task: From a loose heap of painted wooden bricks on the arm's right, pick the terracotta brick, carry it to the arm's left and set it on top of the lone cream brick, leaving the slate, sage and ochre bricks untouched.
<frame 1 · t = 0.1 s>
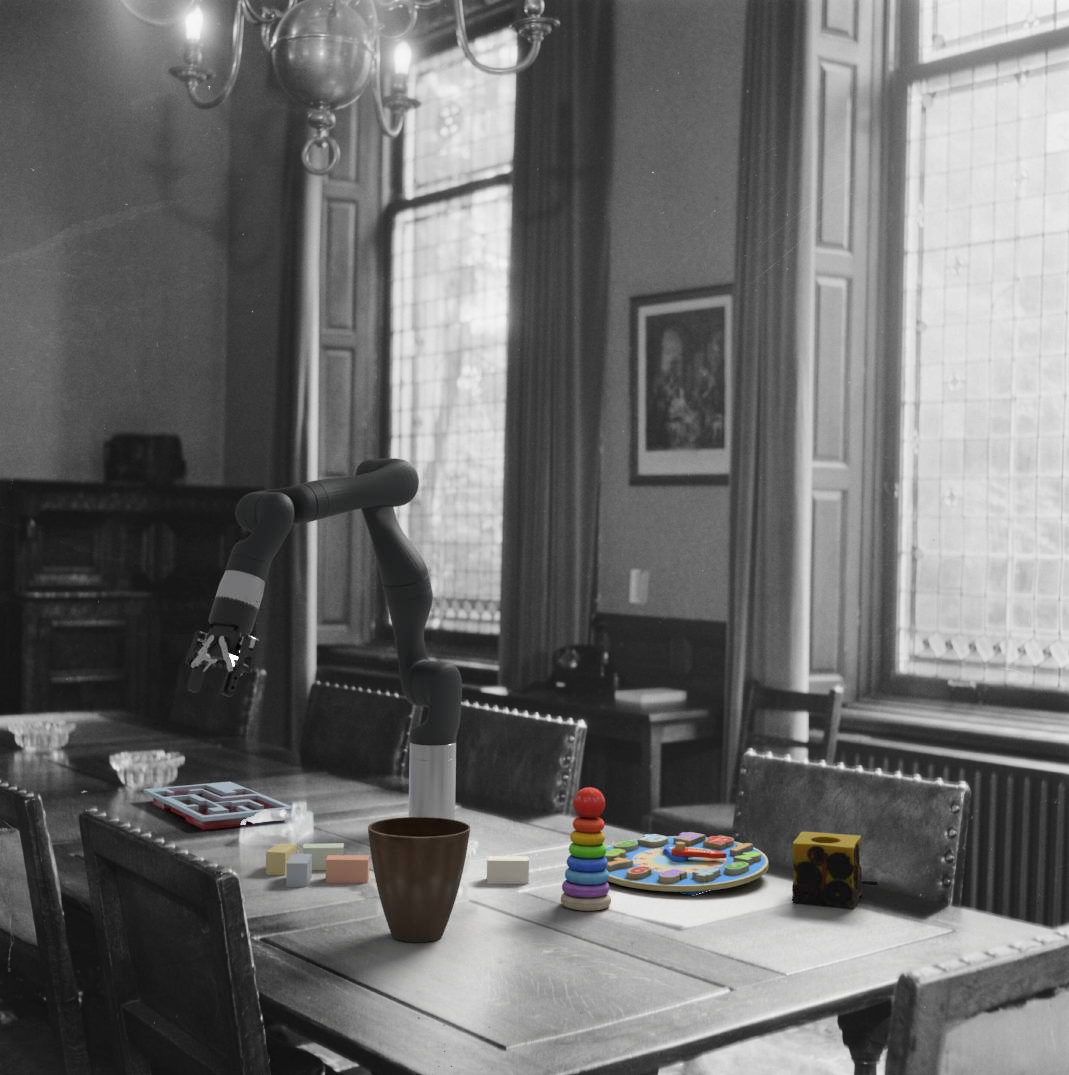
hand: (209, 693, 236), 31 cm above the table, tool tilted 20°, fingers open, 8 cm apart
brick ochre: (281, 871, 245), on the table
brick cream: (507, 882, 240), on the table
plant pot: (417, 937, 206), on the table
maze game: (217, 814, 295), on the table
shape sorting clock: (678, 878, 246), on the table
brick sage: (323, 868, 248), on the table
stacking toy: (585, 907, 225), on the table
brick slate: (299, 882, 238), on the table
brick terracotta: (347, 881, 239), on the table
yellow gear box toy: (827, 901, 231), on the table
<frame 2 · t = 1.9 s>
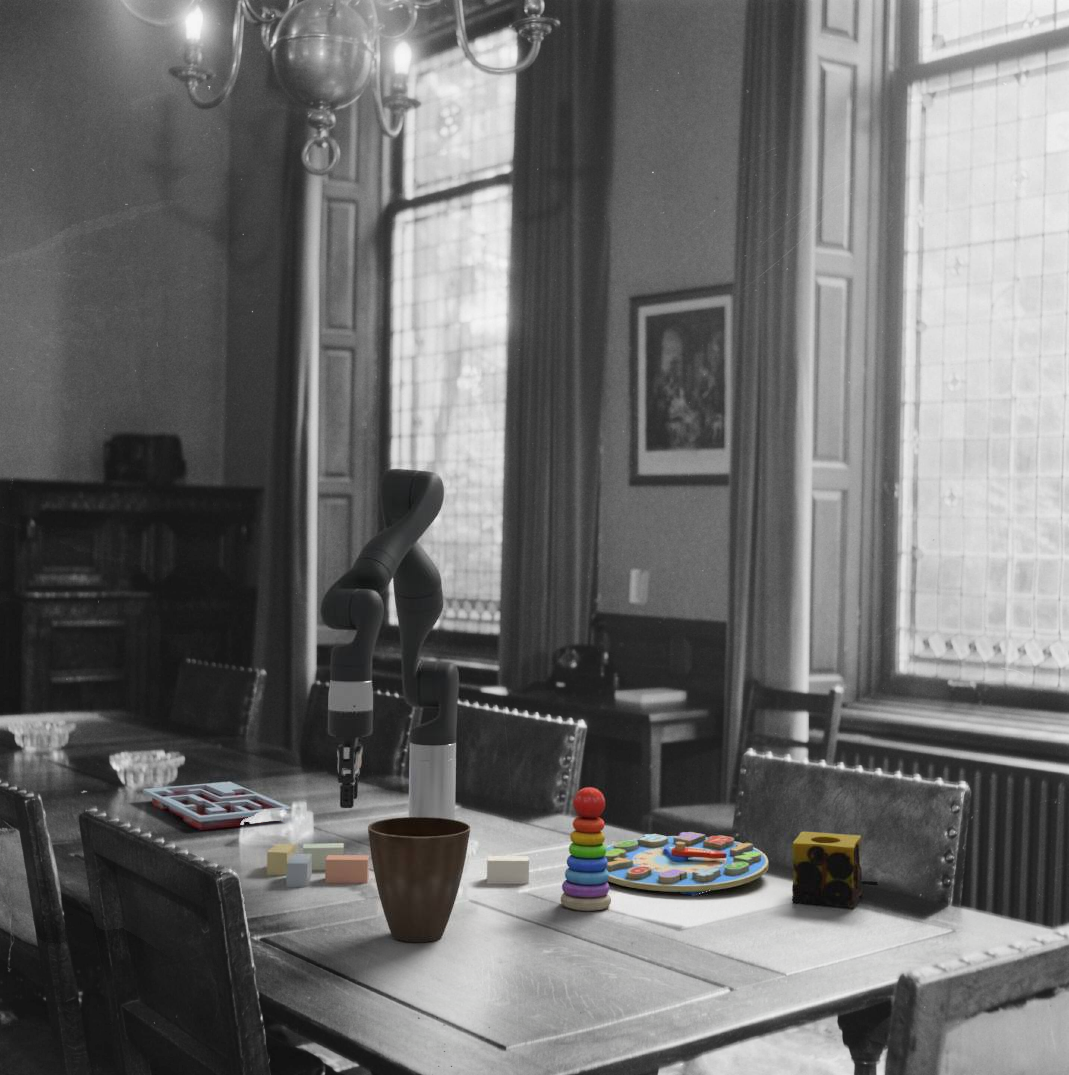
hand: (348, 803, 239), 13 cm above the table, tool pointing down, fingers open, 8 cm apart
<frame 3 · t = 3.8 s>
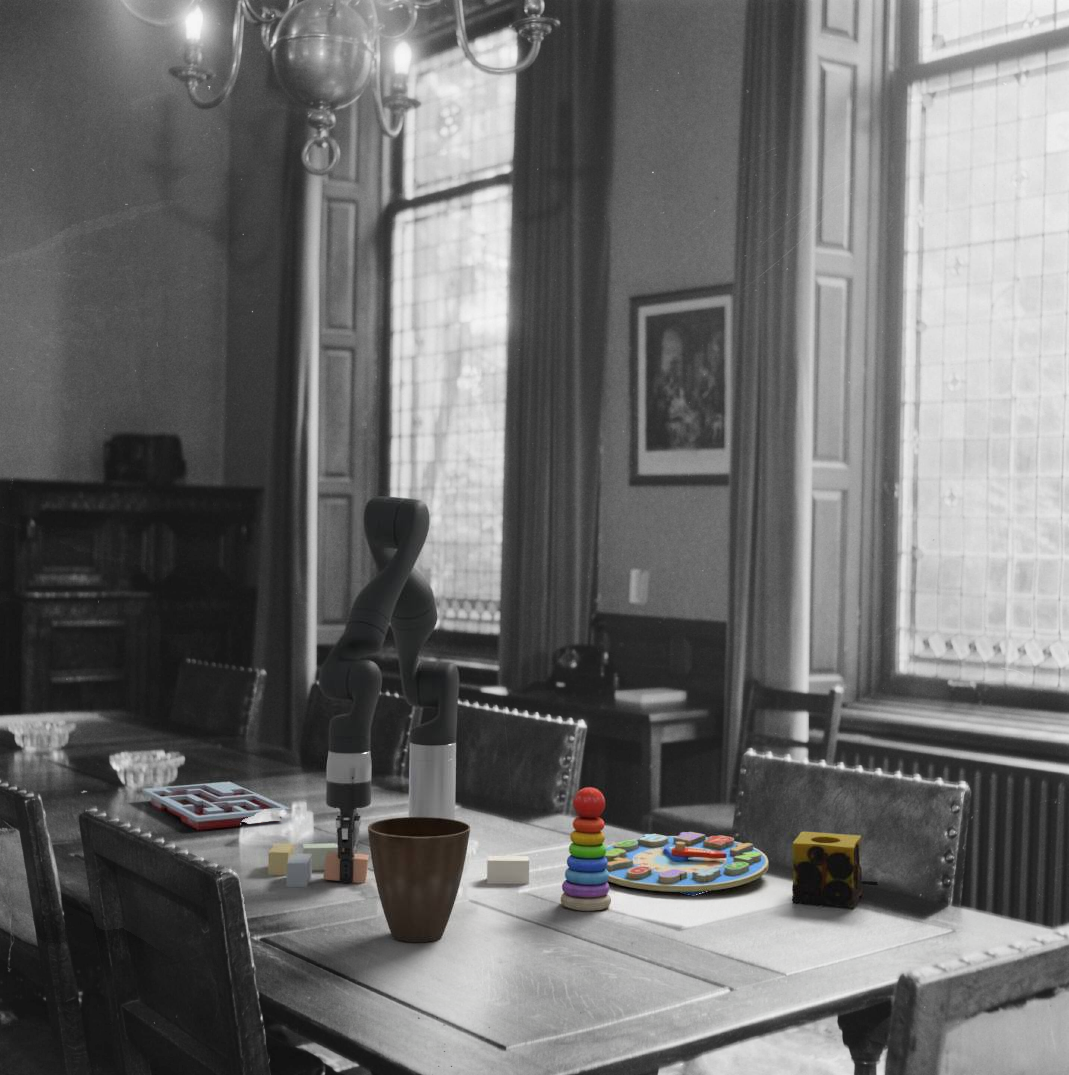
hand: (347, 879, 239), 0 cm above the table, tool pointing down, fingers closed on brick terracotta, 3 cm apart
brick terracotta: (345, 878, 239), on the table, tilted 6°, touching gripper
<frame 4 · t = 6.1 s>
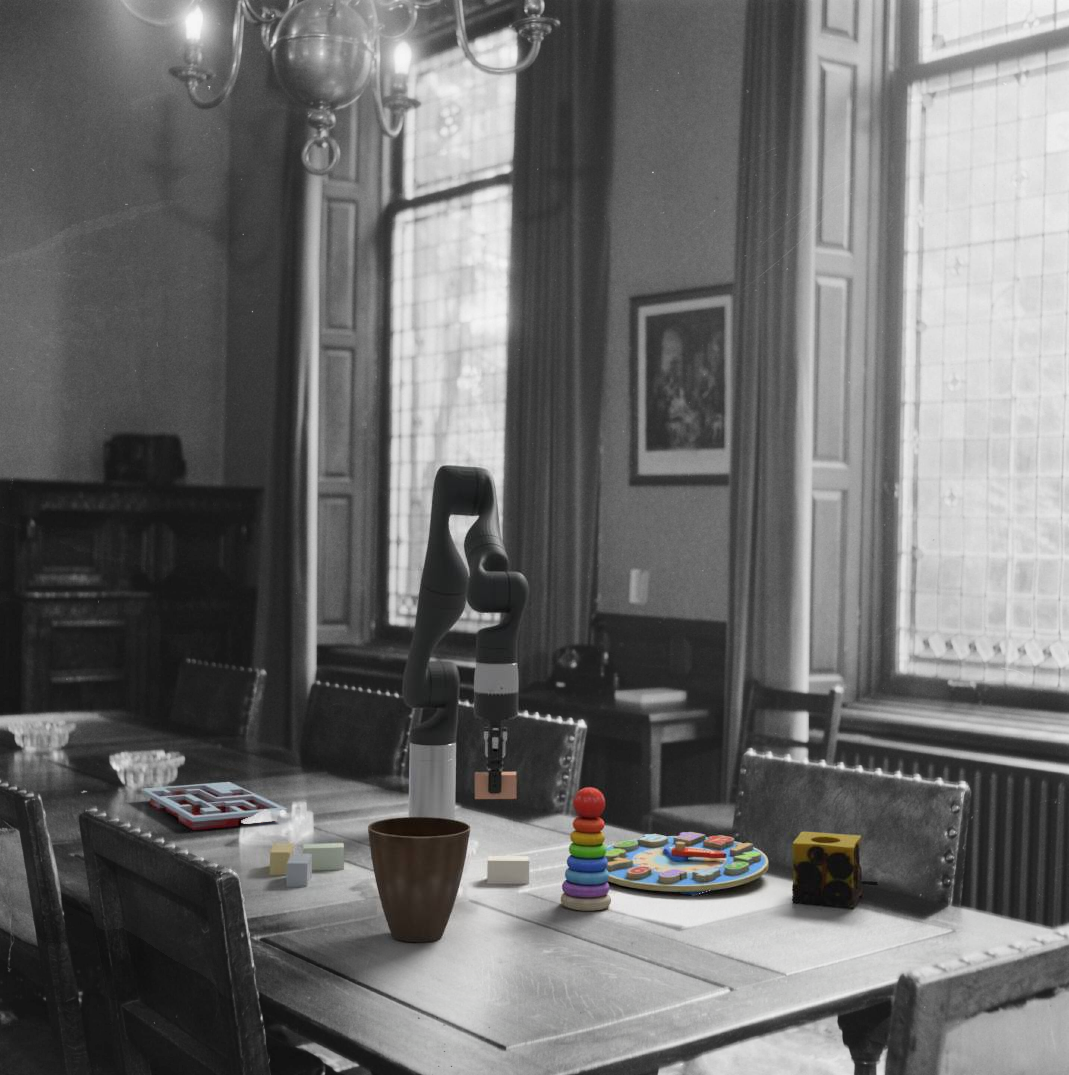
hand: (494, 790, 240), 15 cm above the table, tool pointing down, fingers closed on brick terracotta, 3 cm apart
brick terracotta: (495, 797, 240), point 14 cm above the table, touching gripper
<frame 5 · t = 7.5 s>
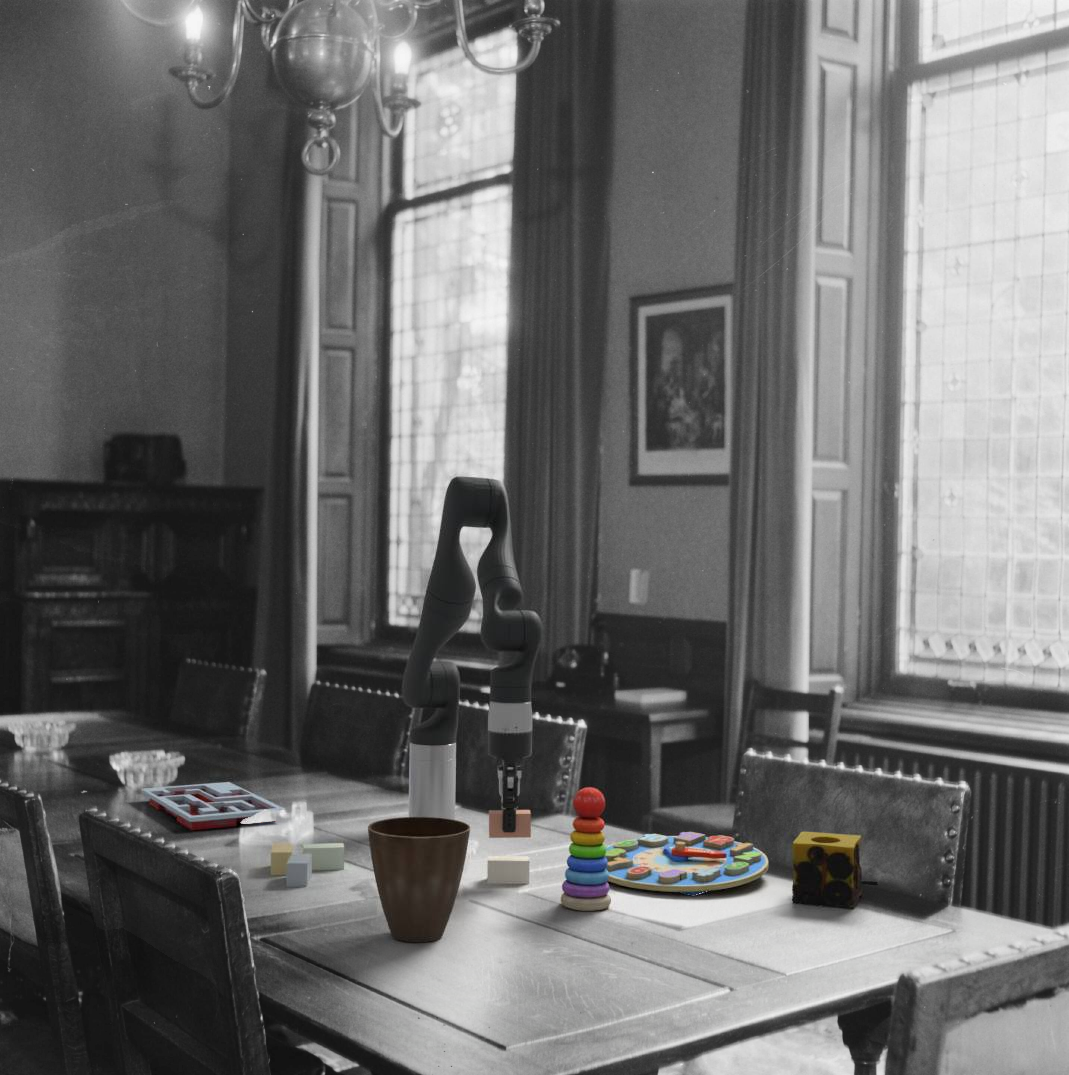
hand: (508, 829, 240), 9 cm above the table, tool pointing down, fingers closed on brick terracotta, 3 cm apart
brick terracotta: (509, 835, 240), point 8 cm above the table, touching gripper
when the fingers open (6 cm above the table, at t = 8.4 s): brick terracotta stays where it is, resting on brick cream.
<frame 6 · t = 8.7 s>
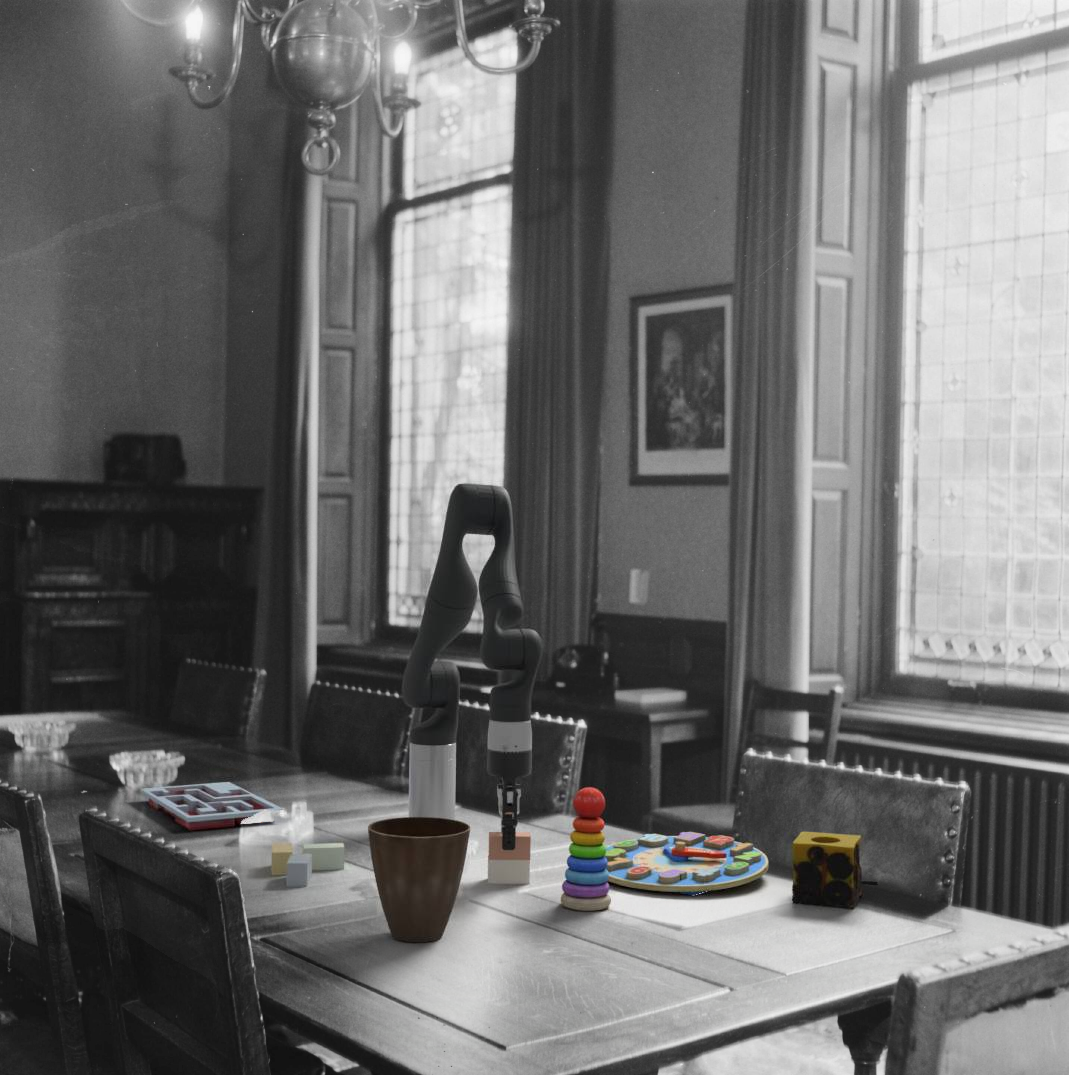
hand: (508, 845, 240), 6 cm above the table, tool pointing down, fingers open, 6 cm apart
brick cream: (508, 881, 240), on the table, touching brick terracotta
brick terracotta: (509, 857, 240), point 4 cm above the table, touching brick cream
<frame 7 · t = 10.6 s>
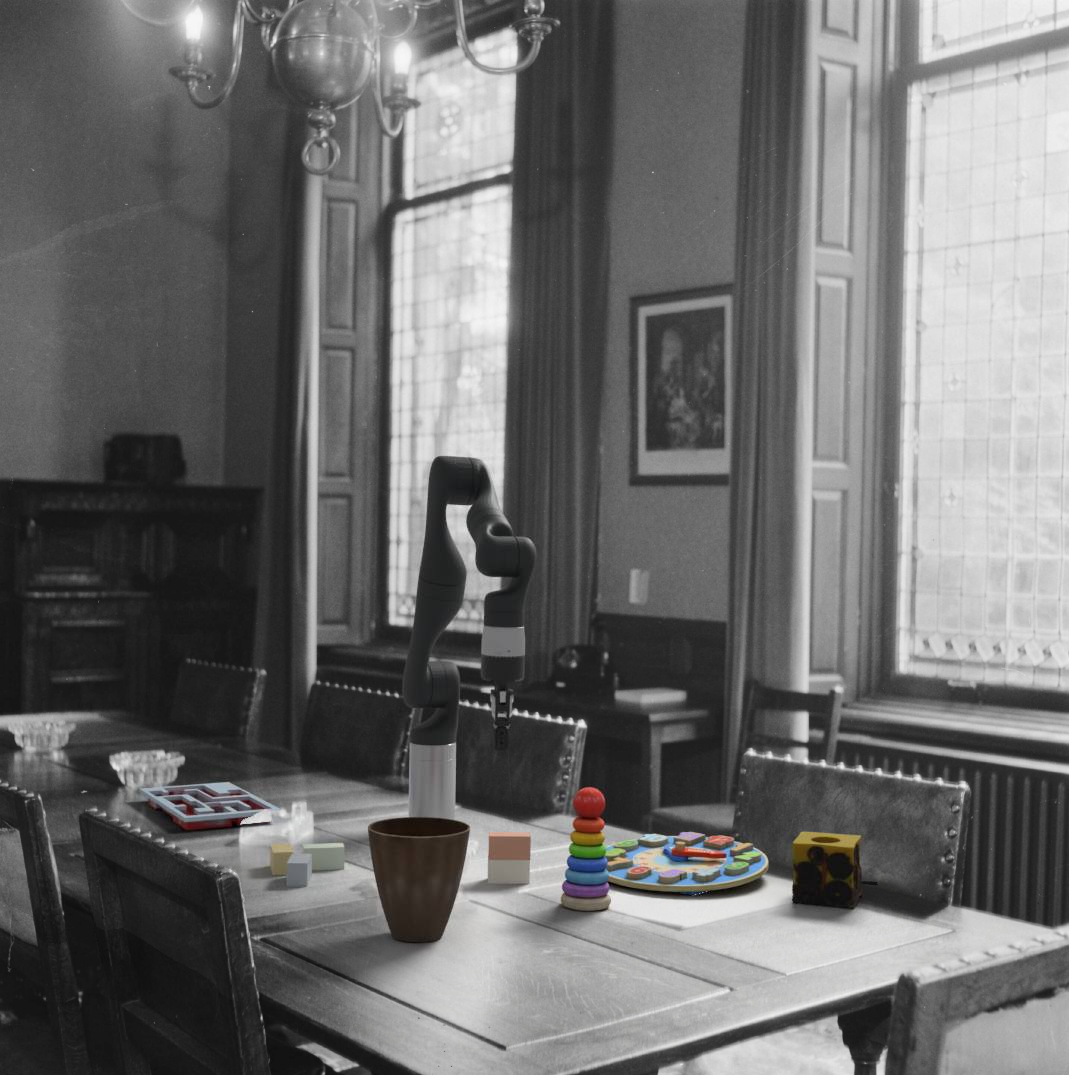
hand: (500, 745, 244), 22 cm above the table, tool pointing down, fingers open, 8 cm apart
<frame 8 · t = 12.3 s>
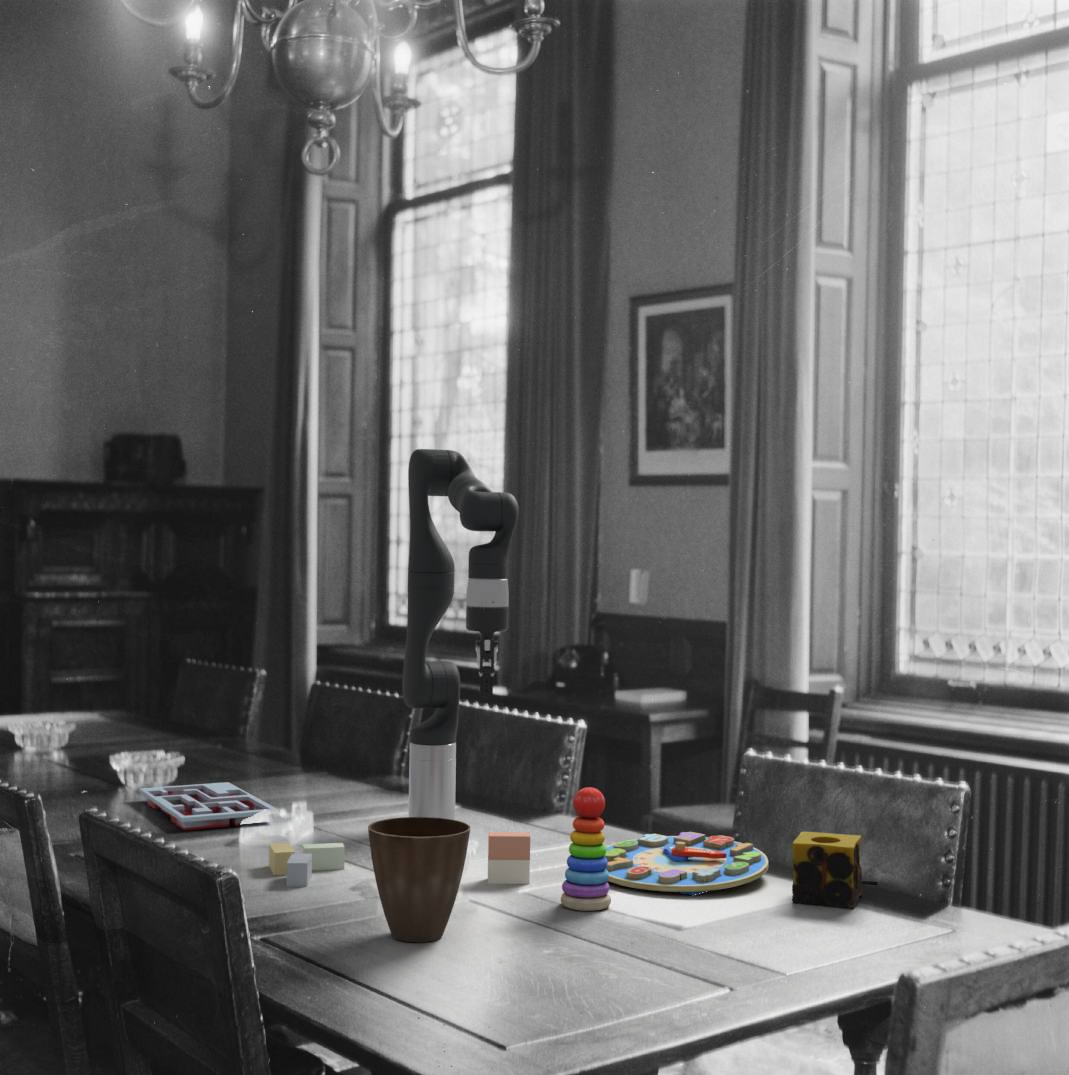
hand: (486, 695, 252), 30 cm above the table, tool pointing down, fingers open, 8 cm apart
at the end: brick terracotta 0.1 cm off-centre on the brick cream, point 4.0 cm above the brick cream's base; brick sage moved 0.2 cm from its start; brick slate moved 0.2 cm from its start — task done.
